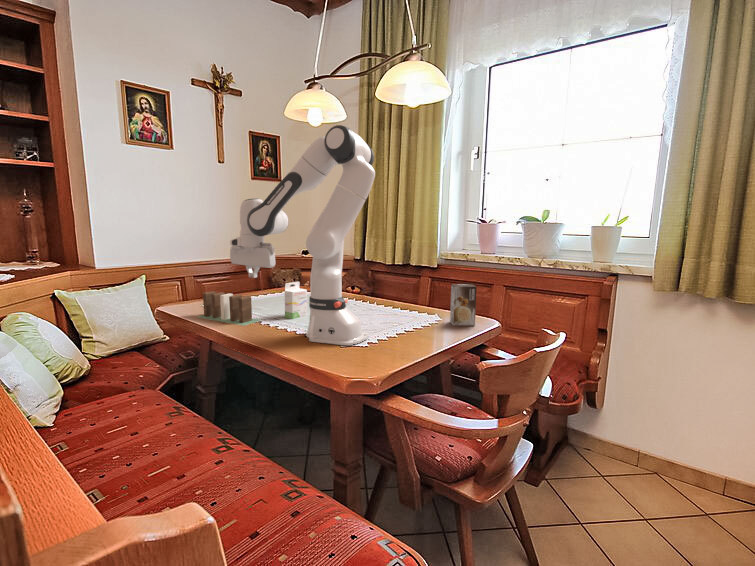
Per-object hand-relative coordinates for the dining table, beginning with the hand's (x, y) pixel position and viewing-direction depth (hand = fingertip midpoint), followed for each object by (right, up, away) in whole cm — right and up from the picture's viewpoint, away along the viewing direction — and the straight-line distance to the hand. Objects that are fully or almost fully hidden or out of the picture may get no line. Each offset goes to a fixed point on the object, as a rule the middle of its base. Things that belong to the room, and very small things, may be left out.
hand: (252, 277), depth 155 cm
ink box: (+14, -17, +15) cm, 26 cm away
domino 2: (-18, -16, +12) cm, 27 cm away
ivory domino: (-13, -17, +9) cm, 23 cm away
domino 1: (-22, -16, +14) cm, 31 cm away
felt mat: (-13, -17, +9) cm, 23 cm away
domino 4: (-4, -18, +5) cm, 19 cm away
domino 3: (-9, -17, +7) cm, 21 cm away
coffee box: (+83, -19, +8) cm, 86 cm away
